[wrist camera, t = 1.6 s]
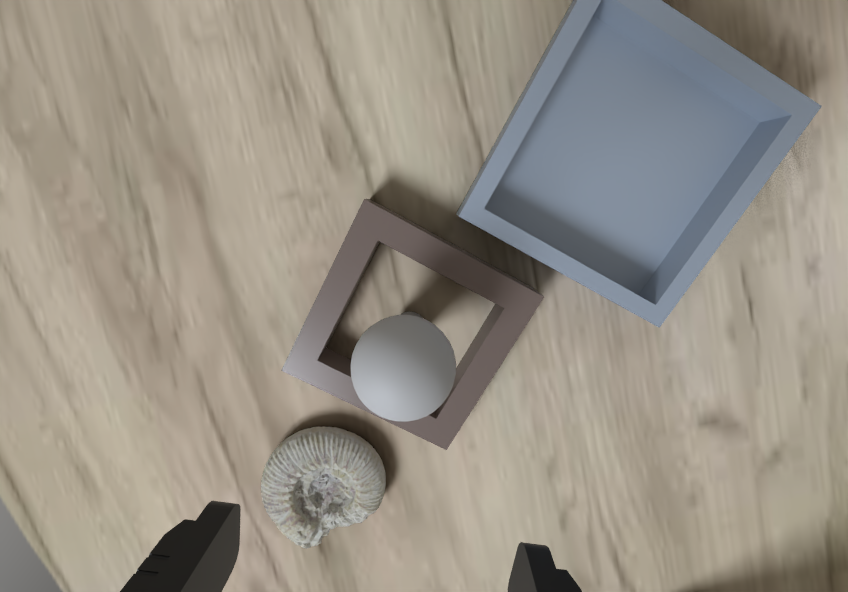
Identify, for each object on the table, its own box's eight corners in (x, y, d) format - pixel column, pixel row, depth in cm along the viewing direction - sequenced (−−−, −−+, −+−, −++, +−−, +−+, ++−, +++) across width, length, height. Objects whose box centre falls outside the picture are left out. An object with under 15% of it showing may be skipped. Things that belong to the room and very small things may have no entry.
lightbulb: (373, 282, 30) (341, 330, 19) (453, 289, 30) (466, 341, 19) (369, 356, 31) (338, 439, 21) (445, 363, 31) (453, 449, 21)
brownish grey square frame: (534, 288, 30) (544, 297, 27) (445, 431, 33) (446, 449, 30) (369, 199, 28) (364, 199, 26) (293, 356, 31) (281, 370, 29)
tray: (778, 116, 26) (821, 106, 23) (637, 314, 30) (659, 327, 27) (579, -13, 25) (599, -41, 22) (455, 214, 28) (458, 216, 25)
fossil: (334, 583, 32) (231, 520, 32) (348, 545, 36) (255, 489, 36) (400, 486, 30) (288, 418, 30) (408, 456, 33) (308, 395, 33)
